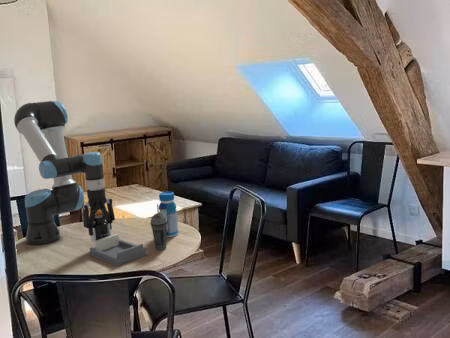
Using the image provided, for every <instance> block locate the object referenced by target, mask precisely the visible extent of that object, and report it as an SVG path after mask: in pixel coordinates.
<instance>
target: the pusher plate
mask: <svg viewBox="0 0 450 338" xmlns="http://www.w3.org/2000/svg"><path fill="white" fill-rule="evenodd" d="M119 239H120V238H119V234H118V233H115V234H111V236H109V237H106V238H102V239H99V240H96V241H94V242H93V248H95V249H97V250H100V251H103V250H106V249H109V248H112V247H114V246H117V245H119Z"/></svg>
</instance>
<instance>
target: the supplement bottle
mask: <svg viewBox="0 0 450 338" xmlns="http://www.w3.org/2000/svg"><path fill="white" fill-rule="evenodd" d="M93 228H95V235H96V240H99V239H102V238H106V237H109V229H108V223H107V222H106V220H105V216H104V215H103V214H99V215H95V220H94V225H93Z"/></svg>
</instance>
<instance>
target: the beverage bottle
mask: <svg viewBox="0 0 450 338" xmlns="http://www.w3.org/2000/svg"><path fill="white" fill-rule="evenodd" d="M158 197H159V202H160V203H159V204H158V208H159V213H161V214H163V215H164V216H165V217H166V219H167V238H171V237H176V236H177V235H179V227H178V224H179V223H178V211H177V205H176V203H175V201H174V200H175V194H174V191H163V192H162V191H161V192H159V196H158Z"/></svg>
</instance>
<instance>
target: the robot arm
mask: <svg viewBox="0 0 450 338" xmlns="http://www.w3.org/2000/svg"><path fill="white" fill-rule="evenodd" d="M13 119H14V122H13V123H14V126H15V128H16V130H17V133H19V134H20V135H23V136H24V137H23V138H24V139H25V140H26V142H27V144H28V145H29V146H30V149H31V150H32V151H33V153H34V154H35V156H36V159H38V161H39V164H38V171H39V174H40V176H41V178H42V179H44V180H47V179H53V185H52V186H51V189H49V188H42V189H40V188H39V189H35V190H33V191H31V192H29V193H27V194H26V195H25V196H24V208H25V212H26V213H25V214H26V220H27V230H26V233H25V234H26V236H25V241H26V244H28V245H31V246H32V245H33V246H34V245H35V246H36V245H38V246H39V245H46V244H50V243H53V242H56V241H58V240H59V239H60V238H61V234H60V230H59V228H58V226H57V224H56V222H55V217H54V216H57V215H58V216H59V215H61V214H62V215H63V214H65V213H72V212H75V211H77V210H80V209H81V208H82V210H83V211H82V212H83V228H86V229H87V230H88V236H90V241H91V242H92V243H94V241H96V235H95V228H93V225H94V220H95V216H97V215H96V214H97V211H99V210H100V212H101V213H102V215H104V216H105V221H106V222H107V223H108V229H109V236H112V233H111V232H112V229H113V228H112V227H113V226H112V224H113V221H116V218H115V213H114V208H113V199H112V198H109V197H108V198H107V197H106V194H107V193H106V188H105V179H104V178H105V177H104V168H103V167H104V166H103V165H104V164H103V158H102V154H101V152H99V151H90V152H85V153H84V154H75V155H73V156H70V157H69V156H68V151H67V146H66V142H65V141H66V140H65V137H64V130H65V128H66V125H67V123H68V121H69V119H68V112H67V109H66V107H65V105H64V104H63V103H62V102H60V101H59V100H58V101H56V100H54V101H53V100H50V101H49V100H48V101H40V102H39V101H37V102H27V103H24V104H23V105H21V106H19V108H18V109H17V110H16V111H15V114H14V118H13ZM82 173H84V178H85V185H86V194H87V199H88V200H87V203H85V204H84V202H85V194H84V190H83V188H82V186H81V185H78V183H77V181H75V180H74V179H73V176H72V175H77V174H82ZM105 205H106V206H105Z"/></svg>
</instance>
